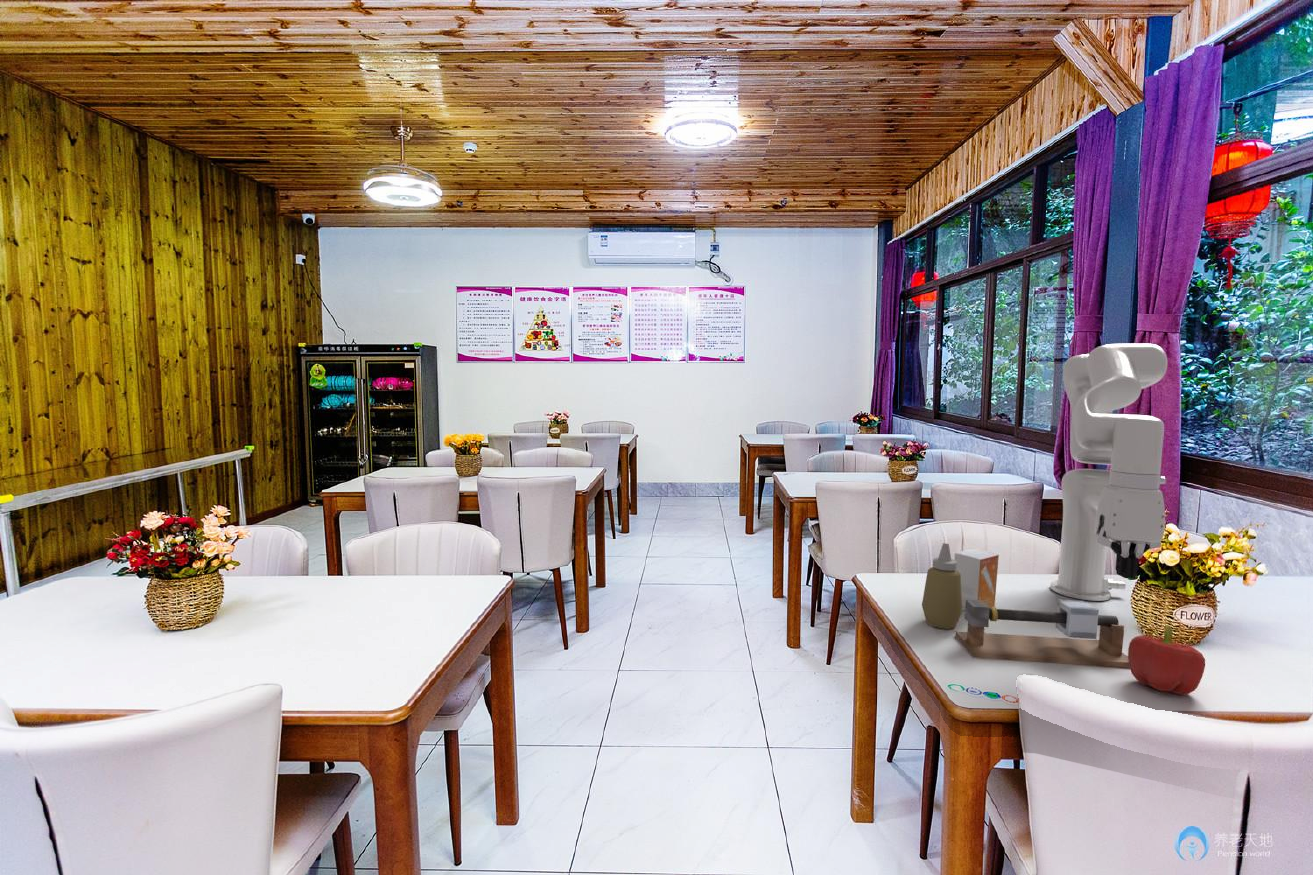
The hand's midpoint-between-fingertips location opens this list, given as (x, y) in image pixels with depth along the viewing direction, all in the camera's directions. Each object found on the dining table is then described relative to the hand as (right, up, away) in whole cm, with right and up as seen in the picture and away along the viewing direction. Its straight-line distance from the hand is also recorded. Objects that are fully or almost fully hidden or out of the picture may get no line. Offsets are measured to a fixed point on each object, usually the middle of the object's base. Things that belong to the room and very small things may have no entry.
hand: (1125, 576), depth 119 cm
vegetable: (-1, -18, -10) cm, 20 cm away
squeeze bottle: (-28, -14, +17) cm, 36 cm away
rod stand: (-14, -16, +4) cm, 21 cm away
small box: (-15, -14, +27) cm, 34 cm away
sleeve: (-8, -12, +3) cm, 14 cm away
